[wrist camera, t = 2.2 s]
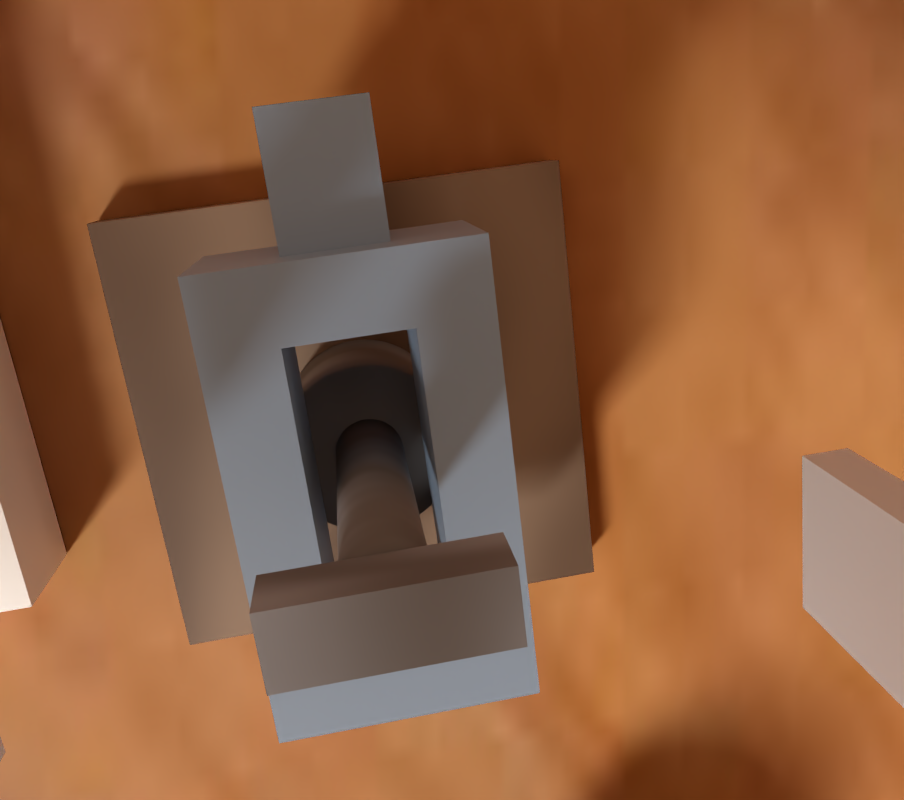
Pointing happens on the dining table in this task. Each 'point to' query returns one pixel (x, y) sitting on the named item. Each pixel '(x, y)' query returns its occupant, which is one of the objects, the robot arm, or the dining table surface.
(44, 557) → the tray
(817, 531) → the robot arm
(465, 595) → the lever on base
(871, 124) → the dining table surface
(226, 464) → the grey slotted block
